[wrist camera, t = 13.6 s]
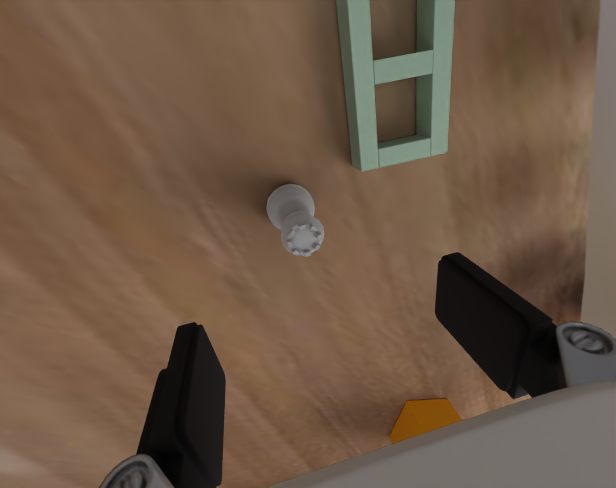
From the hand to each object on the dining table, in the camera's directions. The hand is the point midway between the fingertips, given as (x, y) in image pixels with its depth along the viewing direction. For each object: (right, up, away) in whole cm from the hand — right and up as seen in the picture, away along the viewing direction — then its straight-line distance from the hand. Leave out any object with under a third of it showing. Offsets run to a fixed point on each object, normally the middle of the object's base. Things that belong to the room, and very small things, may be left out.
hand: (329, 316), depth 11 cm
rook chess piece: (-3, +7, +17) cm, 18 cm away
